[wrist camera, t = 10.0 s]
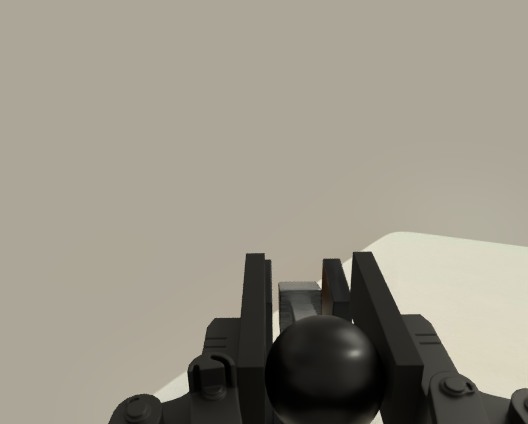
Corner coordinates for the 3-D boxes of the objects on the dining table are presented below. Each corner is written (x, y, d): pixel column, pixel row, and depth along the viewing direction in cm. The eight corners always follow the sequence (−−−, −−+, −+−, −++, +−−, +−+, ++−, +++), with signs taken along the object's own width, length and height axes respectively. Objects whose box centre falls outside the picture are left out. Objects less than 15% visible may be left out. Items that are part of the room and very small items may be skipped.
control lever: (402, 468, 12) (399, 329, 12) (264, 469, 12) (262, 331, 12) (328, 332, 26) (327, 270, 26) (267, 333, 26) (266, 271, 26)
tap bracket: (388, 560, 23) (419, 354, 18) (219, 561, 24) (200, 356, 18) (349, 389, 35) (361, 229, 29) (234, 390, 35) (225, 231, 29)
